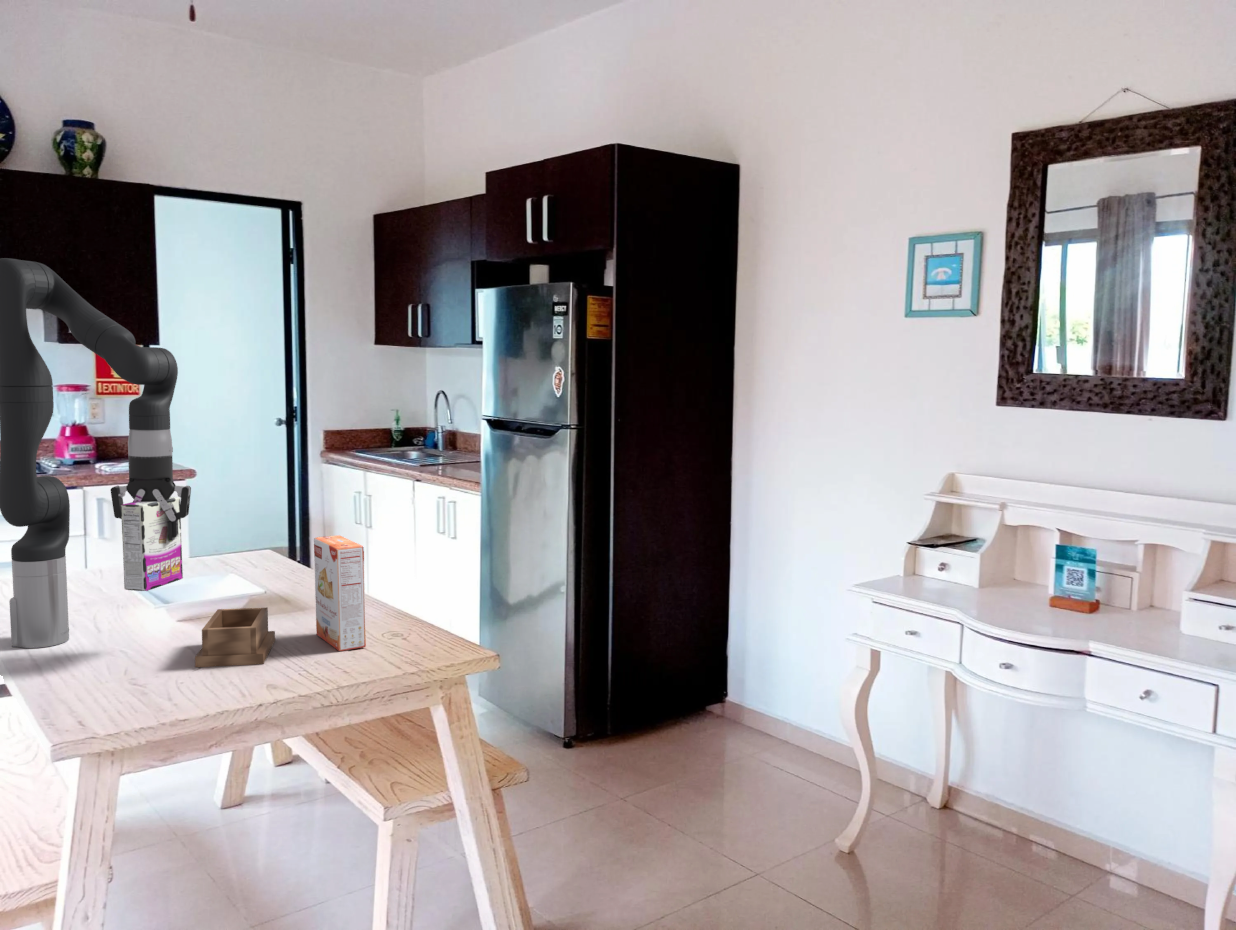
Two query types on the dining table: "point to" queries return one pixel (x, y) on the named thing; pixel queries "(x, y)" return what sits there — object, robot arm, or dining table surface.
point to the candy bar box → (149, 546)
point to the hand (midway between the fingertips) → (152, 539)
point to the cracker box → (340, 592)
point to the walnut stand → (236, 638)
